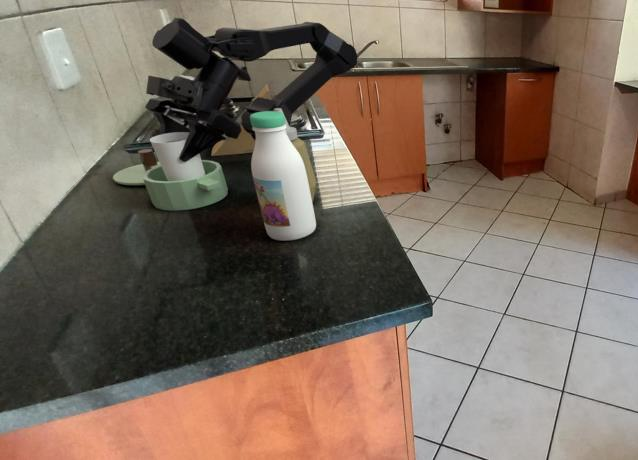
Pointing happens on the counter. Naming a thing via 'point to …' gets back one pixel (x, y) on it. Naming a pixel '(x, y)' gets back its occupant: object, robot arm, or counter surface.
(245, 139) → the sandwich container
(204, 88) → the robot arm
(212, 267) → the counter surface
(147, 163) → the lid
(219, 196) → the pot
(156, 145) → the white cup
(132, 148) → the counter surface
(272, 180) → the milk bottle
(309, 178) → the squeeze bottle
